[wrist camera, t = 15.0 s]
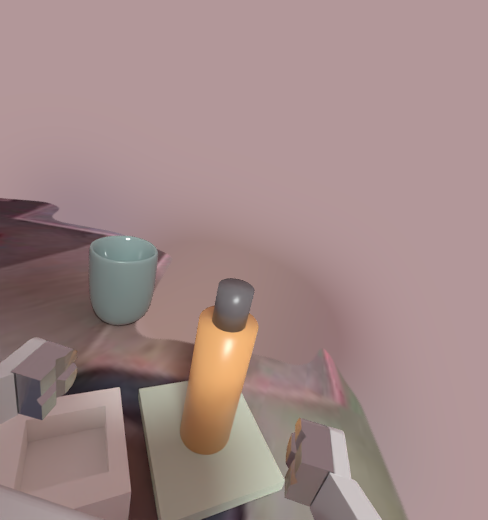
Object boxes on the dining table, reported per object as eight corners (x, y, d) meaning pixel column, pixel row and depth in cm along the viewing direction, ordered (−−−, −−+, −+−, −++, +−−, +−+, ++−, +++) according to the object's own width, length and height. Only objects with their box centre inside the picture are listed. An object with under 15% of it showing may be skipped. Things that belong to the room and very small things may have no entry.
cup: (79, 307, 42) (78, 238, 38) (134, 294, 48) (139, 232, 44) (103, 341, 38) (106, 267, 34) (161, 322, 43) (170, 256, 39)
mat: (138, 397, 32) (139, 388, 31) (229, 381, 36) (231, 373, 36) (160, 534, 22) (162, 525, 22) (281, 489, 27) (284, 480, 26)
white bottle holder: (-191, 628, 16) (-222, 589, 14) (-105, 457, 23) (-119, 418, 21) (127, 521, 23) (131, 486, 21) (117, 414, 30) (120, 381, 28)
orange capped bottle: (174, 415, 30) (197, 273, 24) (219, 405, 32) (251, 271, 26) (187, 461, 26) (218, 306, 20) (237, 446, 28) (278, 302, 22)
